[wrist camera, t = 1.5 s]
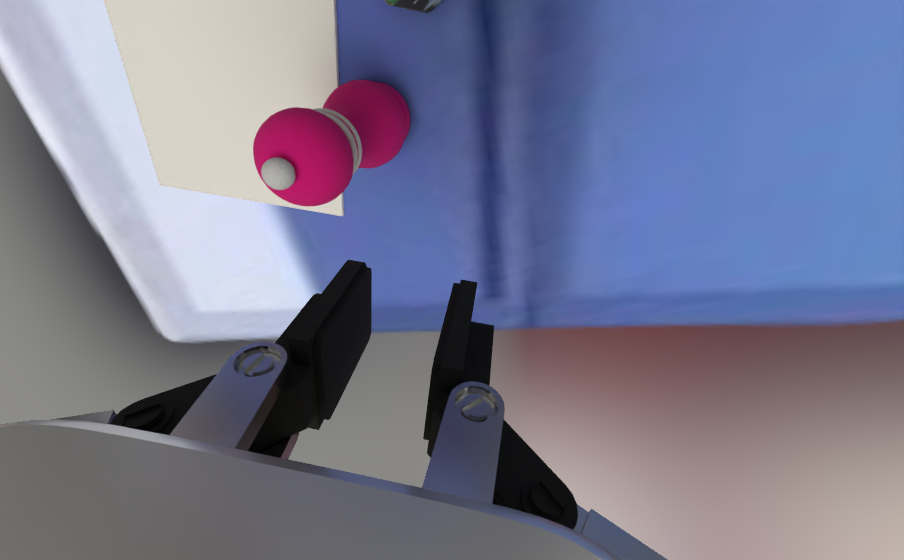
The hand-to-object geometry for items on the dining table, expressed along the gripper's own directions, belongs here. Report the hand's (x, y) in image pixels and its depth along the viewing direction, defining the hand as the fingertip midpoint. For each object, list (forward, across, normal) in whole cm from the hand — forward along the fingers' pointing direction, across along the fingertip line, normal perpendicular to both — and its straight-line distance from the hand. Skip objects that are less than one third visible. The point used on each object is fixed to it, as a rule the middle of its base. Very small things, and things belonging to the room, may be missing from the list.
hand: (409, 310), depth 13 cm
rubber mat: (+29, +25, 0) cm, 38 cm away
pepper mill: (+29, +10, 0) cm, 31 cm away
